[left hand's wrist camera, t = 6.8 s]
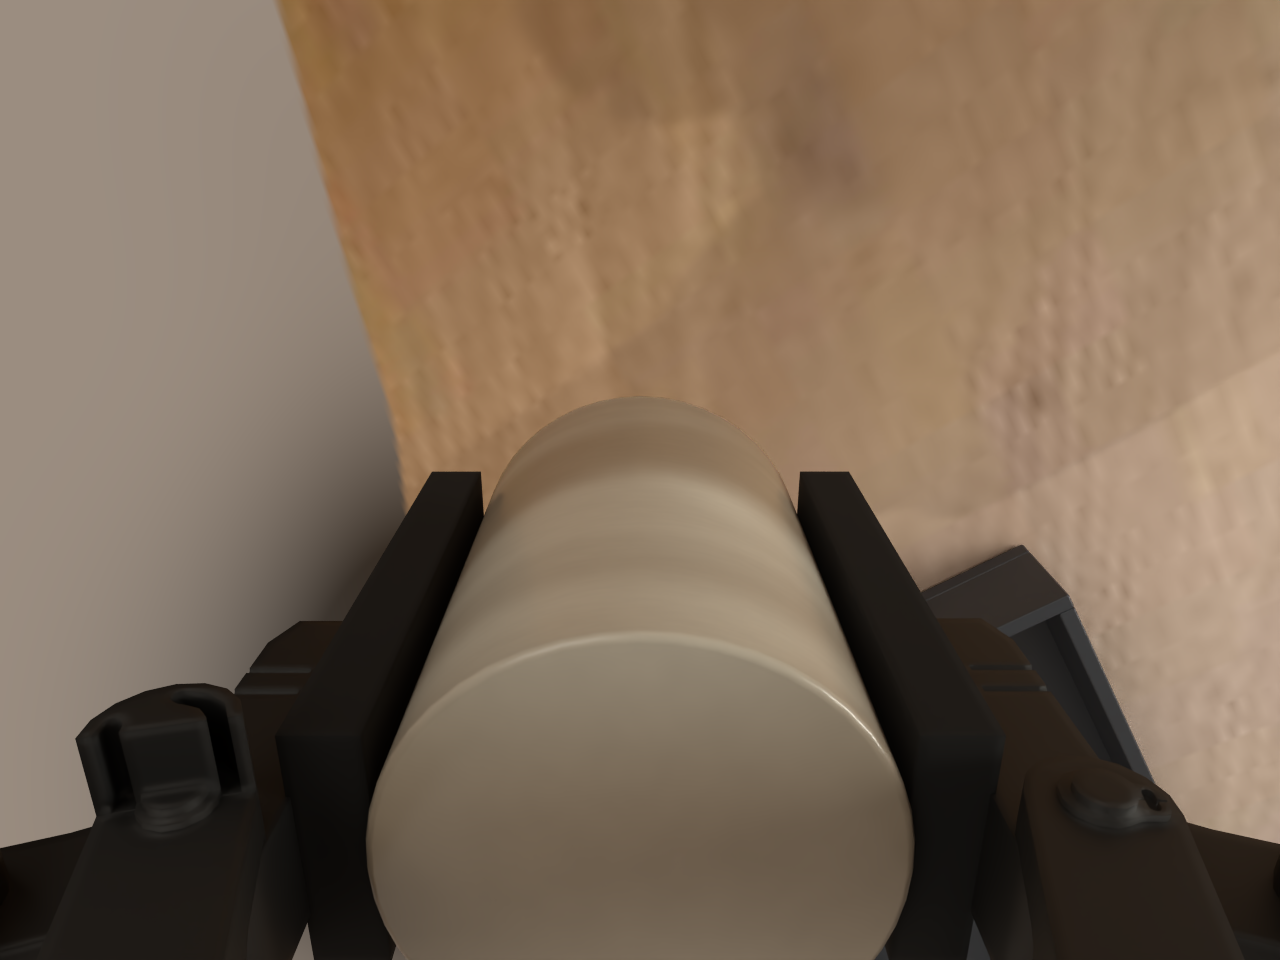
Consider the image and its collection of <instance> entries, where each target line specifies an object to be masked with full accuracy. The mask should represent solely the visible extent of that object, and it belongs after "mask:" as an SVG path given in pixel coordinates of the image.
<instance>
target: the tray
mask: <svg viewBox="0 0 1280 960" xmlns="http://www.w3.org/2000/svg"><path fill="white" fill-rule="evenodd" d="M921 594H922V595H923V597H924V599H925V600H926V602H927V604H928V605H929V607H930V609H931V610H932V612H933V614H934V615H935V617H936V618H982V619H983V620H985V621H986V622H988V623H989V624H991V625H992V626H994V627H995V628H997V629H998V630H1000V631H1001V632H1002V633H1004V634H1005V635H1007V636H1008V637H1010V638H1011V639H1013V640H1014V641H1015V643H1016V644H1017V646H1018V647H1019V648H1020V650H1021V651H1022V652H1023V654H1024V655H1025V657H1026V658H1027V659H1028V661H1029V662H1030V664H1031V665H1032V670H1035V671H1036V672H1037V673H1038V675H1039V676H1040V677H1041V679H1042V680H1043V682H1044V683H1045V684H1046V686H1047V691H1051V693H1052V694H1053V696H1054V697H1055V698H1056V700H1057V701H1058V702H1059V704H1060V705H1061V707H1062V708H1063V709H1064V711H1065V712H1066V714H1067V715H1068V716H1069V718H1070V719H1071V720H1072V722H1073V723H1074V725H1075V726H1076V727H1077V729H1078V730H1079V732H1080V733H1081V734H1082V736H1083V737H1084V739H1085V740H1086V741H1087V743H1088V744H1089V745H1090V747H1091V748H1092V750H1093V751H1094V752H1095V754H1096V755H1097V757H1098V758H1099V759H1101V760H1105V761H1109V762H1113V763H1117V764H1119V765H1121V766H1123V767H1125V768H1128V769H1130V770H1132V771H1134V772H1136V773H1138V774H1140V775H1142V776H1145V777H1146V778H1148V779H1149V780H1150V781H1152V782H1153V783H1154V784H1155V782H1154V780H1153V778H1152V775H1151V773H1150V771H1149V769H1148V767H1147V764H1146V762H1145V760H1144V758H1143V756H1142V754H1141V751H1140V749H1139V747H1138V745H1137V743H1136V740H1135V738H1134V736H1133V734H1132V732H1131V730H1130V727H1129V725H1128V723H1127V721H1126V719H1125V716H1124V714H1123V712H1122V710H1121V708H1120V706H1119V703H1118V701H1117V699H1116V697H1115V695H1114V692H1113V690H1112V688H1111V686H1110V684H1109V681H1108V679H1107V677H1106V675H1105V673H1104V671H1103V668H1102V666H1101V664H1100V662H1099V660H1098V657H1097V655H1096V653H1095V651H1094V649H1093V647H1092V644H1091V642H1090V640H1089V638H1088V636H1087V633H1086V631H1085V629H1084V627H1083V625H1082V623H1081V620H1080V618H1079V616H1078V614H1077V612H1076V609H1075V608H1074V605H1073V603H1072V601H1071V599H1070V596H1069V595H1068V594H1067V593H1066V592H1065V590H1064V589H1063V588H1062V587H1061V586H1060V585H1059V584H1058V583H1057V582H1056V581H1055V579H1054V578H1053V577H1052V576H1051V575H1050V574H1049V573H1048V572H1047V571H1046V570H1045V568H1044V567H1043V566H1042V565H1041V564H1040V563H1039V562H1038V561H1037V560H1036V559H1035V557H1034V556H1033V555H1032V554H1031V553H1030V552H1029V551H1028V550H1027V549H1026V548H1025V547H1024V546H1023V545H1020V546H1018V547H1015V548H1013V549H1011V550H1009V551H1007V552H1005V553H1003V554H1001V555H999V556H997V557H995V558H993V559H991V560H988V561H986V562H984V563H982V564H980V565H978V566H976V567H974V568H972V569H970V570H968V571H966V572H964V573H961V574H959V575H957V576H955V577H953V578H951V579H949V580H947V581H945V582H943V583H941V584H939V585H936V586H934V587H932V588H930V589H928V590H926V591H924V592H922V593H921ZM874 960H889V958H888V955H887V952H886V948H885V945H884V947H883V949H882V950H881V952H880V953H879V954H878V956H877V957H876V958H875V959H874ZM967 960H990V956H989V954H988V952H987V949H986V947H985V944H984V942H983V940H982V937H981V935H980V933H979V930H978V928H977V925H976V923H975V921H974V920H973V926H972V932H971V937H970V943H969V949H968V954H967Z"/></svg>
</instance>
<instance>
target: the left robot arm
mask: <svg viewBox="0 0 1280 960" xmlns="http://www.w3.org/2000/svg"><path fill="white" fill-rule="evenodd" d="M797 516H798V518H799V521H800V523H801V526H802V528H803V531H804V533H805V536H806V538H807V541H808V543H809V546H810V548H811V551H812V554H813V556H814V559H815V561H816V564H817V566H818V569H819V571H820V574H821V576H822V579H823V581H824V584H825V586H826V589H827V591H828V594H829V596H830V599H831V601H832V604H833V606H834V609H835V611H836V614H837V616H838V619H839V621H840V624H841V626H842V629H843V631H844V634H845V636H846V639H847V641H848V644H849V647H850V649H851V652H852V654H853V657H854V659H855V662H856V664H857V667H858V669H859V672H860V674H861V677H862V679H863V682H864V684H865V687H866V689H867V692H868V694H869V697H870V699H871V702H872V704H873V707H874V709H875V712H876V714H877V717H878V719H879V722H880V724H881V727H882V729H883V732H884V735H885V737H886V740H887V742H888V745H889V747H890V750H891V752H892V755H893V757H894V760H895V762H896V765H897V767H898V770H899V772H900V775H901V777H902V780H903V782H904V786H905V789H906V793H907V796H908V799H909V803H910V806H911V810H912V817H913V826H914V835H915V848H914V866H913V872H912V877H911V881H910V886H909V890H908V895H907V899H906V902H905V905H904V907H903V910H902V912H901V915H900V917H899V920H898V922H897V925H896V927H895V928H894V930H893V932H892V934H891V935H890V937H889V939H888V940H887V942H886V944H885V948H886V952H887V955H888V958H889V960H967V954H968V949H969V943H970V937H971V932H972V926H973V920H974V921H975V923H976V925H977V928H978V930H979V933H980V935H981V937H982V940H983V942H984V944H985V947H986V949H987V952H988V954H989V956H990V960H1280V844H1277V843H1272V842H1267V841H1263V840H1258V839H1254V838H1249V837H1244V836H1240V835H1235V834H1231V833H1226V832H1221V831H1217V830H1212V829H1208V828H1205V827H1201V826H1198V825H1194V824H1191V823H1187V822H1186V820H1185V817H1184V815H1183V814H1182V812H1181V811H1180V809H1179V808H1178V807H1177V805H1176V804H1175V802H1174V801H1173V799H1172V798H1171V797H1170V795H1169V794H1167V793H1166V792H1165V791H1163V790H1162V789H1161V788H1159V787H1158V786H1157V785H1156V784H1154V783H1153V782H1152V781H1150V780H1149V779H1148V778H1146V777H1145V776H1142V775H1140V774H1138V773H1136V772H1134V771H1132V770H1130V769H1128V768H1125V767H1123V766H1121V765H1119V764H1117V763H1113V762H1109V761H1105V760H1101V759H1099V758H1098V757H1097V755H1096V754H1095V752H1094V751H1093V750H1092V748H1091V747H1090V745H1089V744H1088V743H1087V741H1086V740H1085V739H1084V737H1083V736H1082V734H1081V733H1080V732H1079V730H1078V729H1077V727H1076V726H1075V725H1074V723H1073V722H1072V720H1071V719H1070V718H1069V716H1068V715H1067V714H1066V712H1065V711H1064V709H1063V708H1062V707H1061V705H1060V704H1059V702H1058V701H1057V700H1056V698H1055V697H1054V696H1053V694H1052V693H1051V691H1047V686H1046V684H1045V683H1044V682H1043V680H1042V679H1041V677H1040V676H1039V675H1038V673H1037V672H1036V671H1035V670H1032V665H1031V664H1030V662H1029V661H1028V659H1027V658H1026V657H1025V655H1024V654H1023V652H1022V651H1021V650H1020V648H1019V647H1018V646H1017V644H1016V643H1015V641H1014V640H1013V639H1011V638H1010V637H1008V636H1007V635H1005V634H1004V633H1002V632H1001V631H1000V630H998V629H997V628H995V627H994V626H992V625H991V624H989V623H988V622H986V621H985V620H983V619H982V618H936V617H935V615H934V614H933V612H932V610H931V609H930V607H929V605H928V604H927V602H926V600H925V599H924V597H923V595H922V594H921V592H920V590H919V589H918V587H917V585H916V584H915V582H914V580H913V579H912V577H911V575H910V574H909V572H908V570H907V569H906V567H905V565H904V563H903V562H902V560H901V558H900V557H899V555H898V553H897V552H896V550H895V548H894V547H893V545H892V543H891V542H890V540H889V538H888V537H887V535H886V533H885V532H884V530H883V528H882V527H881V525H880V523H879V522H878V520H877V518H876V517H875V515H874V513H873V511H872V510H871V508H870V506H869V505H868V503H867V501H866V500H865V498H864V496H863V495H862V493H861V491H860V490H859V488H858V486H857V485H856V483H855V481H854V480H853V478H852V476H851V475H850V473H849V472H800V481H799V495H798V510H797ZM483 517H484V512H483V497H482V482H481V472H432V473H431V474H430V476H429V478H428V479H427V481H426V483H425V484H424V486H423V488H422V490H421V491H420V493H419V495H418V496H417V498H416V500H415V501H414V503H413V505H412V506H411V508H410V510H409V511H408V513H407V515H406V516H405V518H404V520H403V521H402V523H401V525H400V527H399V528H398V530H397V531H396V533H395V535H394V536H393V538H392V540H391V541H390V543H389V545H388V547H387V548H386V550H385V552H384V553H383V555H382V557H381V558H380V560H379V562H378V563H377V565H376V567H375V569H374V570H373V572H372V573H371V575H370V577H369V578H368V580H367V582H366V584H365V585H364V587H363V588H362V590H361V592H360V593H359V595H358V597H357V599H356V600H355V602H354V604H353V605H352V607H351V609H350V610H349V612H348V614H347V615H346V617H345V619H344V620H343V621H299V622H298V623H296V624H295V625H293V626H292V627H291V628H289V629H288V630H286V631H285V632H283V633H282V634H280V635H279V636H277V637H276V638H274V639H273V640H271V641H270V642H268V644H267V645H266V646H265V648H264V649H263V650H262V652H261V653H260V655H259V656H258V657H257V659H256V660H255V662H254V663H253V664H252V666H251V667H250V673H246V674H245V676H244V677H243V678H242V680H241V681H240V683H239V684H238V685H237V687H236V688H235V694H233V693H232V692H231V691H229V690H228V689H227V688H223V687H218V686H214V685H210V684H206V683H198V684H175V685H171V686H166V687H162V688H157V689H153V690H148V691H145V692H142V693H140V694H137V695H135V696H132V697H130V698H128V699H125V700H123V701H120V702H118V703H116V704H114V705H113V706H111V707H110V708H108V709H107V710H105V711H104V712H102V713H101V714H99V715H98V716H96V717H95V718H93V719H92V720H90V722H89V723H88V724H87V725H86V726H85V728H84V729H83V730H82V731H81V732H80V734H79V735H78V736H77V737H76V743H77V747H78V750H79V754H80V758H81V761H82V765H83V769H84V772H85V776H86V779H87V783H88V787H89V790H90V794H91V798H92V801H93V805H94V809H95V813H96V819H95V821H94V824H93V826H92V827H90V828H86V829H83V830H79V831H76V832H72V833H68V834H63V835H59V836H54V837H50V838H45V839H40V840H36V841H31V842H27V843H23V844H18V845H13V846H8V847H4V848H0V960H292V958H293V956H294V953H295V951H296V949H297V946H298V944H299V941H300V939H301V937H302V934H303V932H304V929H305V927H306V924H307V922H308V928H309V933H310V939H311V945H312V950H313V956H314V960H392V958H393V954H394V951H395V947H396V944H395V942H394V940H393V939H392V937H391V935H390V934H389V932H388V930H387V928H386V927H385V925H384V923H383V920H382V917H381V915H380V912H379V910H378V907H377V905H376V902H375V900H374V896H373V892H372V887H371V883H370V878H369V874H368V869H367V855H366V830H367V822H368V813H369V808H370V804H371V801H372V797H373V794H374V790H375V787H376V784H377V781H378V778H379V776H380V773H381V771H382V768H383V766H384V763H385V761H386V758H387V756H388V753H389V751H390V748H391V746H392V743H393V741H394V738H395V736H396V733H397V731H398V728H399V726H400V723H401V721H402V718H403V716H404V714H405V711H406V709H407V706H408V704H409V701H410V699H411V696H412V694H413V691H414V689H415V686H416V684H417V681H418V679H419V676H420V674H421V671H422V669H423V666H424V664H425V661H426V659H427V656H428V654H429V651H430V649H431V646H432V644H433V641H434V639H435V637H436V634H437V632H438V629H439V627H440V624H441V622H442V619H443V617H444V614H445V612H446V609H447V607H448V604H449V602H450V599H451V597H452V594H453V592H454V589H455V587H456V584H457V582H458V579H459V577H460V574H461V572H462V569H463V567H464V565H465V562H466V560H467V557H468V555H469V552H470V550H471V547H472V545H473V542H474V540H475V537H476V535H477V532H478V530H479V527H480V525H481V522H482V520H483Z"/></svg>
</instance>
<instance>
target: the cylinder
mask: <svg viewBox="0 0 1280 960" xmlns="http://www.w3.org/2000/svg"><path fill="white" fill-rule="evenodd" d="M914 848H915V835H914V826H913V817H912V810H911V806H910V803H909V799H908V796H907V793H906V789H905V786H904V782H903V780H902V777H901V775H900V772H899V770H898V767H897V765H896V762H895V760H894V757H893V755H892V752H891V750H890V747H889V745H888V742H887V740H886V737H885V735H884V732H883V729H882V727H881V724H880V722H879V719H878V717H877V714H876V712H875V709H874V707H873V704H872V702H871V699H870V697H869V694H868V692H867V689H866V687H865V684H864V682H863V679H862V677H861V674H860V672H859V669H858V667H857V664H856V662H855V659H854V657H853V654H852V652H851V649H850V647H849V644H848V641H847V639H846V636H845V634H844V631H843V629H842V626H841V624H840V621H839V619H838V616H837V614H836V611H835V609H834V606H833V604H832V601H831V599H830V596H829V594H828V591H827V589H826V586H825V584H824V581H823V579H822V576H821V574H820V571H819V569H818V566H817V564H816V561H815V559H814V556H813V554H812V551H811V548H810V546H809V543H808V541H807V538H806V536H805V533H804V531H803V528H802V526H801V523H800V521H799V518H798V516H797V513H796V511H795V508H794V506H793V503H792V501H791V498H790V496H789V493H788V491H787V489H786V486H785V484H784V482H783V480H782V478H781V476H780V474H779V472H778V471H777V469H776V468H775V466H774V464H773V463H772V461H771V460H770V458H769V457H768V456H767V455H766V454H765V452H764V451H763V450H762V449H761V448H760V447H759V446H758V444H757V443H756V442H755V441H754V440H752V439H751V438H750V437H749V436H748V435H747V434H745V433H744V432H743V431H742V430H741V429H740V428H738V427H737V426H735V425H733V424H732V423H730V422H729V421H727V420H726V419H724V418H723V417H721V416H719V415H716V414H714V413H712V412H710V411H708V410H706V409H704V408H701V407H698V406H695V405H692V404H689V403H686V402H682V401H677V400H672V399H667V398H659V397H644V396H638V397H622V398H615V399H610V400H605V401H599V402H596V403H593V404H590V405H587V406H584V407H581V408H578V409H576V410H574V411H571V412H569V413H567V414H565V415H563V416H561V417H559V418H557V419H556V420H554V421H553V422H551V423H550V424H548V425H547V426H545V427H544V428H542V429H541V430H540V431H538V432H537V433H536V434H535V435H534V436H533V437H532V438H530V439H529V440H528V441H527V442H526V443H525V444H524V445H523V446H522V447H521V449H520V450H519V451H518V452H517V453H516V454H515V455H514V457H513V458H512V459H511V461H510V463H509V464H508V466H507V467H506V469H505V470H504V472H503V473H502V475H501V477H500V479H499V482H498V484H497V486H496V488H495V490H494V492H493V495H492V497H491V500H490V502H489V505H488V507H487V510H486V512H485V515H484V517H483V520H482V522H481V525H480V527H479V530H478V532H477V535H476V537H475V540H474V542H473V545H472V547H471V550H470V552H469V555H468V557H467V560H466V562H465V565H464V567H463V569H462V572H461V574H460V577H459V579H458V582H457V584H456V587H455V589H454V592H453V594H452V597H451V599H450V602H449V604H448V607H447V609H446V612H445V614H444V617H443V619H442V622H441V624H440V627H439V629H438V632H437V634H436V637H435V639H434V641H433V644H432V646H431V649H430V651H429V654H428V656H427V659H426V661H425V664H424V666H423V669H422V671H421V674H420V676H419V679H418V681H417V684H416V686H415V689H414V691H413V694H412V696H411V699H410V701H409V704H408V706H407V709H406V711H405V714H404V716H403V718H402V721H401V723H400V726H399V728H398V731H397V733H396V736H395V738H394V741H393V743H392V746H391V748H390V751H389V753H388V756H387V758H386V761H385V763H384V766H383V768H382V771H381V773H380V776H379V778H378V781H377V784H376V787H375V790H374V794H373V797H372V801H371V804H370V808H369V813H368V822H367V830H366V855H367V869H368V874H369V878H370V883H371V887H372V892H373V896H374V900H375V902H376V905H377V907H378V910H379V912H380V915H381V917H382V920H383V923H384V925H385V927H386V928H387V930H388V932H389V934H390V935H391V937H392V939H393V940H394V942H395V944H396V946H397V947H398V949H399V950H400V952H401V953H402V954H403V955H404V957H405V958H406V959H407V960H874V959H875V958H876V957H877V956H878V954H879V953H880V952H881V950H882V949H883V947H884V945H885V944H886V942H887V940H888V939H889V937H890V935H891V934H892V932H893V930H894V928H895V927H896V925H897V922H898V920H899V917H900V915H901V912H902V910H903V907H904V905H905V902H906V899H907V895H908V890H909V886H910V881H911V877H912V872H913V866H914Z"/></svg>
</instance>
